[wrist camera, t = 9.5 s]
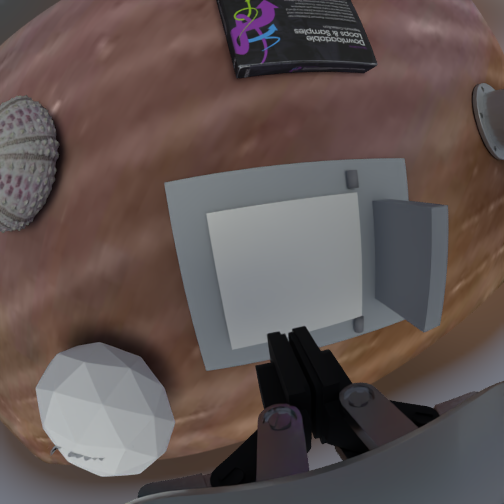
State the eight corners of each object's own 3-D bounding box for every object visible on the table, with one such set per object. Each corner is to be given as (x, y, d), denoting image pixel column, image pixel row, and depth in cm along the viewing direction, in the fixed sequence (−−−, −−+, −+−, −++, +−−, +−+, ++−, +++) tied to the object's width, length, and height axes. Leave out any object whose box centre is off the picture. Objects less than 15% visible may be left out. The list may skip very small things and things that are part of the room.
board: (397, 159, 25) (463, 153, 15) (400, 314, 29) (451, 351, 20) (166, 183, 22) (138, 177, 13) (206, 364, 26) (207, 431, 17)
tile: (206, 213, 20) (205, 212, 21) (232, 349, 23) (230, 343, 24) (357, 192, 22) (351, 192, 23) (361, 315, 25) (356, 311, 26)
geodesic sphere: (84, 455, 21) (119, 530, 11) (8, 371, 17) (-10, 433, 7) (162, 395, 30) (227, 444, 20) (100, 307, 26) (136, 327, 16)
